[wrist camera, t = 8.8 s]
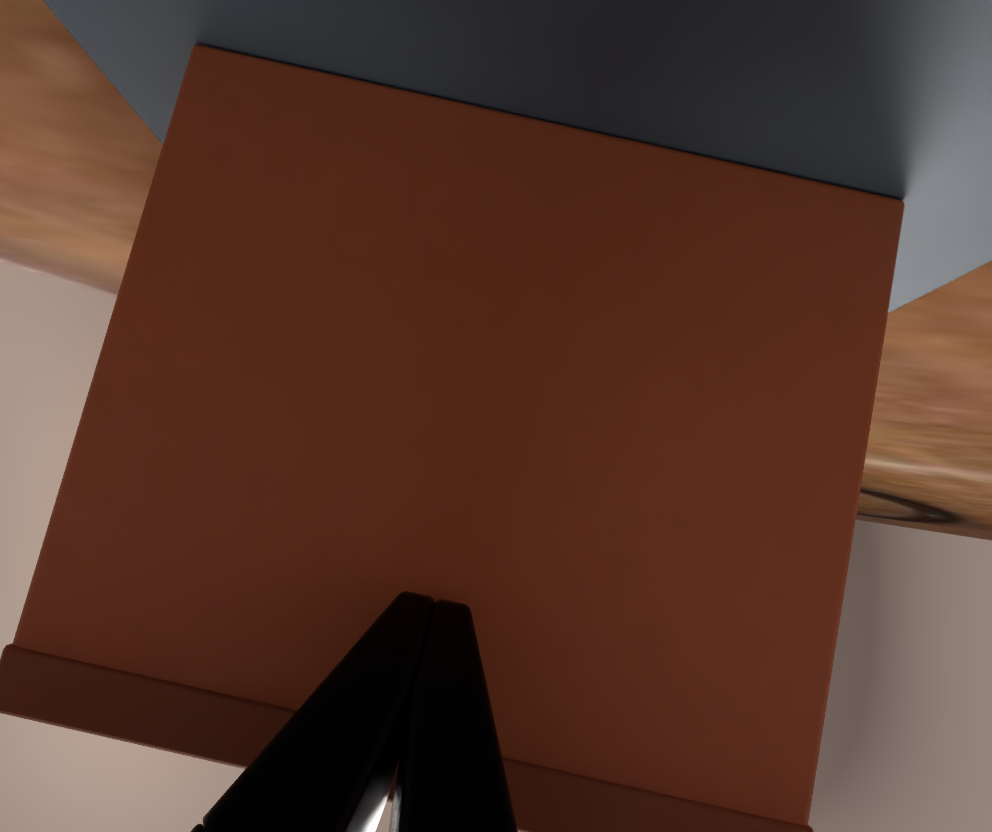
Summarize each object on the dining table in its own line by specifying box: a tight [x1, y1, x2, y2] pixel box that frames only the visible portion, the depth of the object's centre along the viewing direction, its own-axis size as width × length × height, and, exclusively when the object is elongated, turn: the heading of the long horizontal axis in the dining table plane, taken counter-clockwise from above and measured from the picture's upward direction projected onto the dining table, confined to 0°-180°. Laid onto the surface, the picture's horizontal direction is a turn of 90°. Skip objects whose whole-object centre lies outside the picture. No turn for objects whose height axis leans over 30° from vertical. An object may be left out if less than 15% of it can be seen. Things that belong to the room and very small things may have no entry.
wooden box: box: [0, 45, 905, 832], centre depth 17 cm, size 14×10×9 cm
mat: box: [43, 0, 992, 313], centre depth 14 cm, size 25×14×1 cm, turn 179°
